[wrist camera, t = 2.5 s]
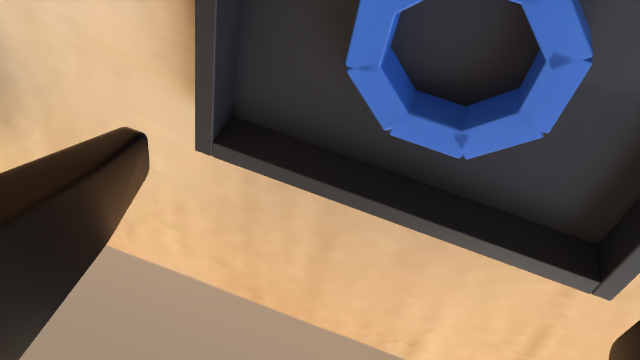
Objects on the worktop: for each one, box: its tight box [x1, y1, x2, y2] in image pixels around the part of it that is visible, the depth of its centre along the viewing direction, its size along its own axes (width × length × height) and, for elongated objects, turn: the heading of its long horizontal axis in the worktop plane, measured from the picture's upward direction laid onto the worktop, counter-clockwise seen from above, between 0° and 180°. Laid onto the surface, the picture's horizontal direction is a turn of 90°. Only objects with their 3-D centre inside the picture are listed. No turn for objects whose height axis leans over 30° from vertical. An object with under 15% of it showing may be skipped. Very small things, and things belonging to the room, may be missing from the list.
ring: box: [345, 0, 593, 159], centre depth 17 cm, size 7×7×2 cm
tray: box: [195, 0, 640, 301], centre depth 17 cm, size 18×15×2 cm
